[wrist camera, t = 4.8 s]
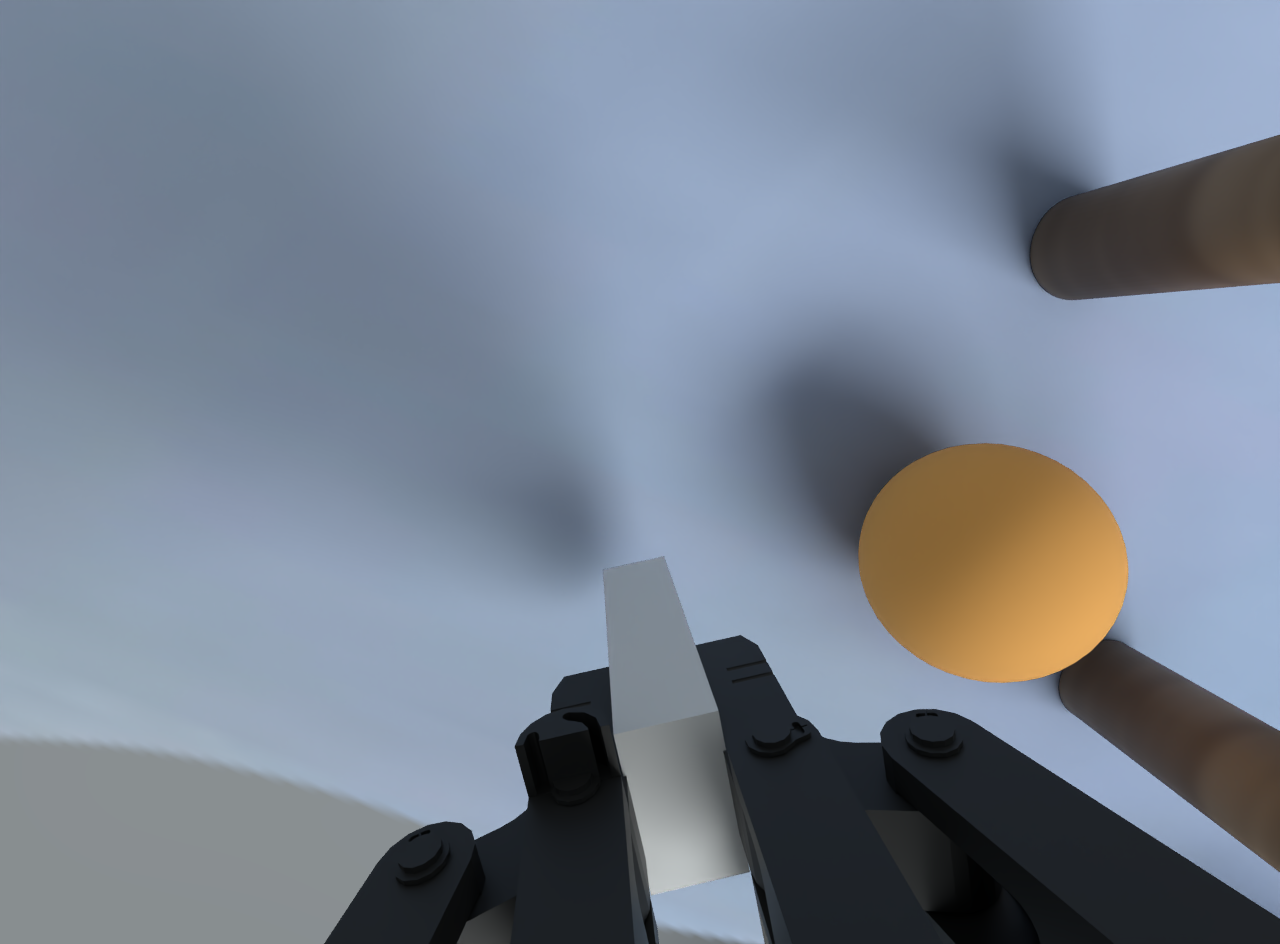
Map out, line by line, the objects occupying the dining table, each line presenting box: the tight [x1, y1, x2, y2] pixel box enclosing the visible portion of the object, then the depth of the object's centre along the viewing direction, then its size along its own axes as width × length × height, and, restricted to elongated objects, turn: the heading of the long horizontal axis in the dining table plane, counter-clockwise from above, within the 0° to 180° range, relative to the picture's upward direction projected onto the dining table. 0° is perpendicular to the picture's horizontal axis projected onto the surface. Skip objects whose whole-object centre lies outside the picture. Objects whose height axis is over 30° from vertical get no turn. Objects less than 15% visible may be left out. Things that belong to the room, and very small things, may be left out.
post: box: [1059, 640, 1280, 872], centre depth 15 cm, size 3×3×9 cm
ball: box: [858, 443, 1128, 683], centre depth 15 cm, size 6×6×6 cm
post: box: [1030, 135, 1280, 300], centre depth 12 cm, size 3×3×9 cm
